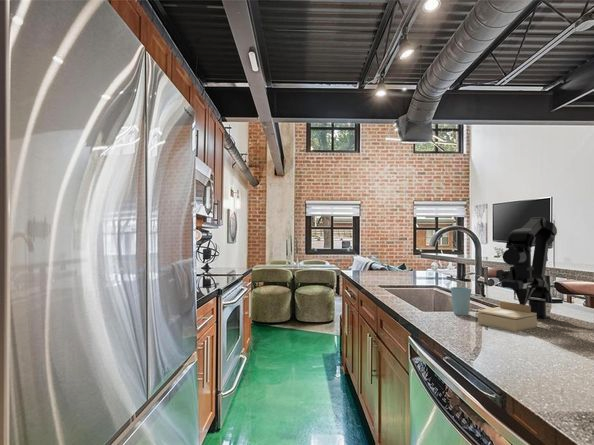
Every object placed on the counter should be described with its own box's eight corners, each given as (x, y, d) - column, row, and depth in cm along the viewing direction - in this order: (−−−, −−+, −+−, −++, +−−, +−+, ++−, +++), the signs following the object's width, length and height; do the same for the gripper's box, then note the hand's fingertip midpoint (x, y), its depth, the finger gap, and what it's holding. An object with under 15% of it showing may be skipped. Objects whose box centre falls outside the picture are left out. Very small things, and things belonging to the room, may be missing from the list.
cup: (458, 311, 150) (458, 286, 150) (475, 315, 143) (475, 289, 143) (446, 313, 146) (446, 287, 146) (463, 316, 139) (463, 290, 140)
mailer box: (499, 319, 135) (499, 309, 135) (536, 327, 124) (536, 315, 124) (477, 324, 127) (477, 312, 128) (515, 332, 116) (515, 320, 117)
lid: (499, 308, 135) (499, 300, 135) (536, 314, 124) (536, 306, 124) (477, 312, 128) (477, 303, 128) (515, 319, 117) (515, 310, 117)
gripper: (512, 262, 144) (513, 300, 143) (486, 263, 134) (487, 304, 134) (543, 263, 135) (544, 305, 134) (517, 265, 125) (518, 310, 124)
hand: (522, 306), depth 132 cm, fingers closed
